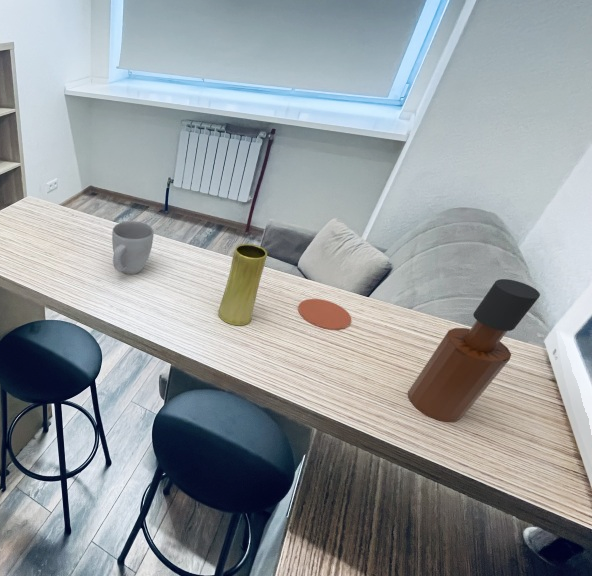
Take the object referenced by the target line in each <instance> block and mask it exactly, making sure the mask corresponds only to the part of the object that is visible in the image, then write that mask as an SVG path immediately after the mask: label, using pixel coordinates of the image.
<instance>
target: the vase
mask: <svg viewBox="0 0 592 576" xmlns="http://www.w3.org/2000/svg"><path fill="white" fill-rule="evenodd" d="M267 258H268V251H267V250H266V249H265V248H264V247H262V246H259V245H256V244H252V243H242V244H238V245H236V247H235V248H234V251H233V255H232V259H231V264H230V269H229V273H228V278H227V282H226V284H225V288H224V290H223V295H222V298H221V302H220V305H219V309H218V310H217V313H218V316H219V318H220V319H221V320H222V321H223V322H225V323H227V324H229V325H232V326H245V325H248V324H250V322H251V321H252V319H253V312H254V307H255V303H256V299H257V295H258V290H259V286H260V283H261V282H260V281H261V278H262V275H263V272H264V268H265V264H266V261H267Z"/></svg>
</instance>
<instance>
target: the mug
mask: <svg viewBox="0 0 592 576" xmlns="http://www.w3.org/2000/svg"><path fill="white" fill-rule="evenodd" d="M111 233H112V235H111V241H112V251H113V256H112V264H113V268H114V269H115V271H118V272H121V273H123V274H127V275H135V274H137V275H138V274H139V273H141V272H142V271H143V269H144V266H145V265H146V263H147V262H148V260H149V257H150V255H151V251H152V248H153V241H154V229H153V227H152V226H151V225H149V224H148V223H145V222H141V221H137V220H136V221H135V220H128V221H122V222H119V223H117V224H116V225H114V226H113V228H112V231H111Z"/></svg>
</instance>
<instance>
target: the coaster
mask: <svg viewBox="0 0 592 576" xmlns="http://www.w3.org/2000/svg"><path fill="white" fill-rule="evenodd" d="M297 310H298V314H299V316H301V317H302V319H304V320H305V321H306V322H308V323H309V324H311V325H313V326H315V327H318V328H321V329H324V330H331V331H332V330H333V331H334V330H335V331H336V330H337V331H338V330H344V329H346V328H348V327H349V326H350V325H351V323H352V317H351V314H350V313H349V312H348V310H346V309H345V308H344V307H342V306H341V305H339V304H337V303H335V302H333V301H330V300H325V299H320V298H308V299H304V300H302V301H301V302H299V305H298V308H297Z"/></svg>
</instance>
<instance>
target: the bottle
mask: <svg viewBox="0 0 592 576" xmlns="http://www.w3.org/2000/svg"><path fill="white" fill-rule="evenodd" d="M507 333H508V331H501V330H496V329H493V328H490V327H488V326H485V325H483V324H482V323H480V322H479V321H477V320H475V322H474V323H473V324H472V326H471V327H470V328H467V327H454V328H451V329H449V330H448V331H447V332H446V334H445V335H444V337H443V338H442V340H441V341H440V342H439V344H438V346H437V347H436V349H435V350H434V352H433V353H432V354H431V356H430V357H429V359H428V361H427V362H426V364H425V365H424V366H423V368H422V370H421V371H420V373H419V374H418V375H417V377H416V379H415V381H414V382H413V384H411V387H410V388H409V390H408V392H407V397H408V400H409V402H410V403H411V404H412V406H413V407H414V408H416V410H418V411H419V412H421V414H424V415H425V416H426V417H427V416H428V417H429V418H432V419H434V420H436V421H440V422H444V423H454V422H458V421H459V420H460V419H462V418H463V417H464V416H465V415H466V413H467V412H469V410H470V408H471V407H472V406H474V404H475V402H477V400H478V399H479V398H480V396H481V395H482V394H483V393H484V392H485V390H486V389H487V388H488V386H490V384H491V383H492V382H493V381H494V379H496V377H497V376H498V375H499V373H500V372H501V371H502V369H503V368H504V367H505V366H506V365H507V363H509V361H510V360H511V358H512V353H511V351H510V350H509V348H508V347H507V346H506V345H505V344H504V343H503V342H502V341H501V340H502V339H503V338H504V336H505V335H506V334H507Z"/></svg>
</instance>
